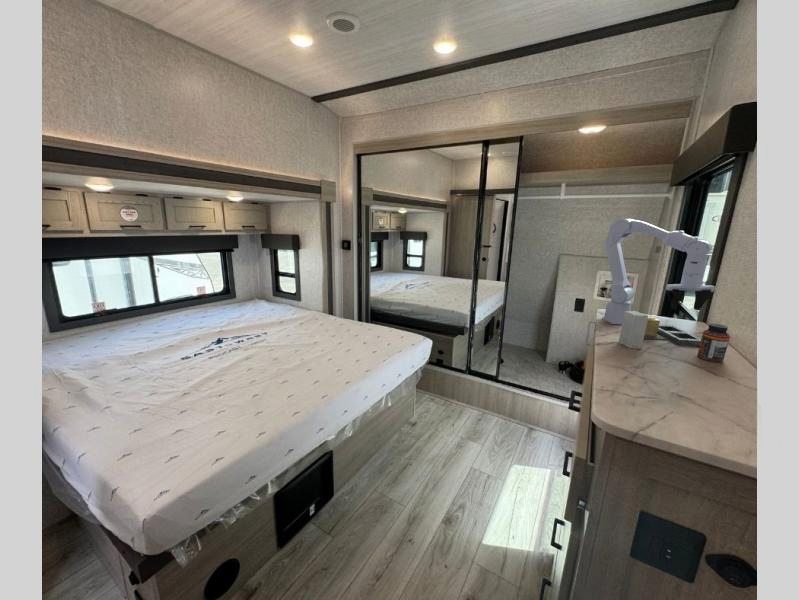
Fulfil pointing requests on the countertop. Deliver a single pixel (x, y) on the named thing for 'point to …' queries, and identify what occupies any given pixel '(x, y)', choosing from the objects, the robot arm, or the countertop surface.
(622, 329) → the skincare box
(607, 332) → the countertop surface
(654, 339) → the mat
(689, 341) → the grey rectangular frame
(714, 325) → the supplement bottle
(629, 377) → the countertop surface
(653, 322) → the gold drawer box
